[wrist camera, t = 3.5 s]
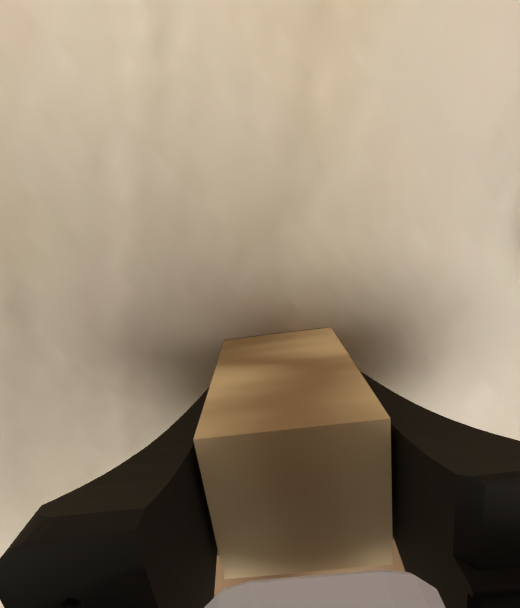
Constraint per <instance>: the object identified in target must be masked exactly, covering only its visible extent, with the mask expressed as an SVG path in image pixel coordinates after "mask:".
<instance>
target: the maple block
mask: <svg viewBox="0 0 520 608" xmlns="http://www.w3.org/2000/svg"><path fill="white" fill-rule="evenodd" d="M193 441H194V445H195V450H196V454H197V459H198V463H199V468H200V472H201V477H202V481H203V486H204V490H205V495H206V499H207V504H208V508H209V512H210V517H211V521H212V526H213V530H214V535H215V539H216V544H217V548H218V553H219V557H220V562H221V566H222V571H223V575H224V579H235V578H246V577H257V576H269V575H280V574H291V573H303V572H314V571H326V570H337V569H348V568H360V567H371V566H383V565H393V534H392V473H391V418H390V417H389V415H388V414H387V412H386V411H385V409H384V408H383V406H382V405H381V403H380V401H379V400H378V398H377V397H376V395H375V394H374V392H373V391H372V389H371V388H370V386H369V385H368V383H367V382H366V380H365V379H364V377H363V376H362V374H361V373H360V371H359V370H358V368H357V366H356V365H355V363H354V362H353V360H352V359H351V357H350V356H349V354H348V353H347V351H346V350H345V348H344V347H343V345H342V344H341V342H340V341H339V339H338V338H337V336H336V335H335V333H334V331H333V330H332V328H331V327H329V328H321V329H313V330H304V331H296V332H287V333H279V334H271V335H262V336H254V337H246V338H237V339H229V340H224V343H223V346H222V349H221V353H220V356H219V359H218V362H217V365H216V369H215V372H214V375H213V378H212V381H211V384H210V388H209V391H208V394H207V397H206V400H205V403H204V407H203V410H202V413H201V416H200V419H199V423H198V426H197V429H196V432H195V435H194V438H193Z"/></svg>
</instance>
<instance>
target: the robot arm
mask: <svg viewBox="0 0 520 608" xmlns="http://www.w3.org/2000/svg"><path fill="white" fill-rule="evenodd" d="M360 373H361V374H362V376H363V377H364V379H365V380H366V382H367V383H368V385H369V386H370V388H371V389H372V391H373V392H374V394H375V395H376V397H377V398H378V400H379V401H380V403H381V405H382V406H383V408H384V409H385V411H386V412H387V414H388V415H389V417H390V418H391V473H392V534H393V537H394V540H395V543H396V546H397V549H398V552H399V555H400V558H401V560H402V563H403V566H404V569H405V572H402V571H393V570H383V569H378V570H367V571H355V572H344V573H332V574H321V575H309V576H298V577H287V578H275V579H264V580H252V581H247V582H244V583H240V584H237V585H234V586H230V587H227V588H224V589H223V590H222V591H221V592H220V593H219V594H218V595H216V596H215V597H214V590H215V577H216V564H217V551H218V548H217V544H216V539H215V535H214V530H213V526H212V521H211V517H210V512H209V508H208V504H207V499H206V495H205V490H204V486H203V481H202V477H201V472H200V468H199V463H198V459H197V454H196V450H195V445H194V441H193V438H194V435H195V432H196V429H197V426H198V423H199V419H200V416H201V413H202V410H203V407H204V403H205V400H206V397H207V394H208V391H209V388H210V387H209V388H208V389H207V390H206V391H205V392H204V393H203V394H202V396H201V397H200V398H199V399H198V400H197V401H196V402H195V403H194V404H193V405H192V406H191V407H190V408H189V409H188V410H187V412H186V413H185V414H184V415H183V416H181V417H180V418H179V419H178V420H177V421H176V422H175V423H174V424H173V425H172V426H171V427H170V428H169V429H168V430H167V431H165V432H164V433H163V434H162V435H161V436H160V437H158V438H157V439H156V440H155V441H153V442H152V443H151V444H149V445H148V446H147V447H145V448H144V449H143V450H141V451H140V452H138V453H137V454H135V455H134V456H132V457H131V458H129V459H128V460H126V461H125V462H123V463H122V464H121V465H119V466H117V467H116V468H114V469H112V470H111V471H109V472H107V473H106V474H104V475H102V476H100V477H98V478H97V479H95V480H93V481H91V482H89V483H88V484H86V485H84V486H82V487H80V488H78V489H76V490H74V491H72V492H69V493H67V494H65V495H63V496H61V497H59V498H57V499H55V500H53V501H51V502H48V503H46V504H44V505H42V506H41V507H40V508H39V509H38V511H37V512H36V513H35V514H34V516H33V517H32V518H31V520H30V521H29V522H28V523H27V525H26V526H25V527H24V529H23V530H22V531H21V532H20V534H19V535H18V536H17V538H16V539H15V540H14V541H13V543H12V544H11V545H10V547H9V548H8V549H7V551H6V552H5V553H4V554H3V556H2V557H1V558H0V600H1V602H2V604H3V606H4V608H520V441H518V440H514V439H511V438H507V437H503V436H499V435H496V434H492V433H489V432H486V431H482V430H479V429H476V428H473V427H470V426H467V425H465V424H462V423H459V422H456V421H453V420H451V419H448V418H446V417H443V416H441V415H438V414H436V413H434V412H432V411H429V410H427V409H425V408H423V407H421V406H418V405H416V404H414V403H413V402H411V401H409V400H407V399H405V398H403V397H401V396H399V395H398V394H396V393H394V392H392V391H391V390H389V389H387V388H386V387H384V386H383V385H381V384H379V383H378V382H376V381H375V380H373V379H371V378H370V377H368V376H367V375H365V374H364V373H362V372H360Z"/></svg>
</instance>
